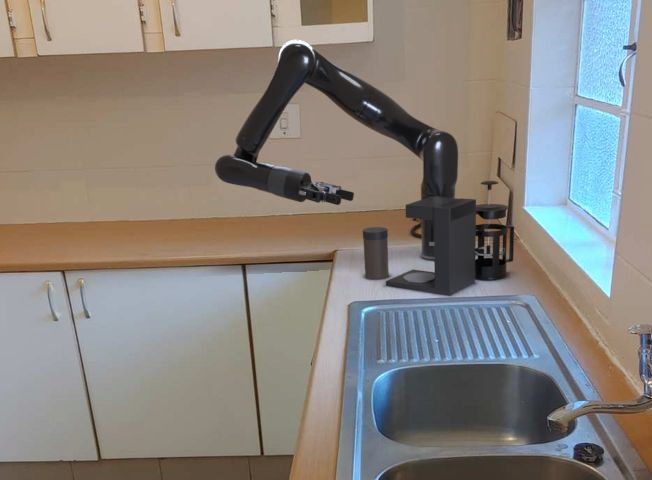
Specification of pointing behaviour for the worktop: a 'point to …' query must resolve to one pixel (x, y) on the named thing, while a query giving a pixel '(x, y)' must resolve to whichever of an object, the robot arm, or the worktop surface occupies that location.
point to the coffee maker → (444, 246)
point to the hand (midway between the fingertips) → (346, 198)
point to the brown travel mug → (376, 252)
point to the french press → (494, 265)
